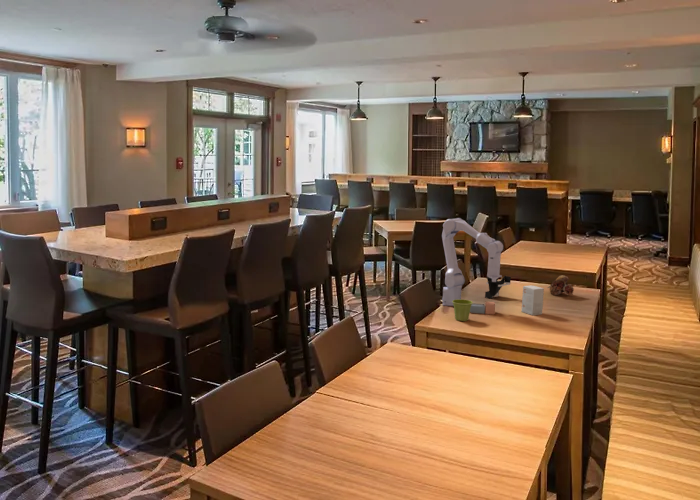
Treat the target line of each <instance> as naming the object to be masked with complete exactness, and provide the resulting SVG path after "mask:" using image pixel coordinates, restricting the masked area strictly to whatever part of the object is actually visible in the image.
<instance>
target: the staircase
mask: <svg viewBox="0 0 700 500" xmlns="http://www.w3.org/2000/svg"><path fill="white" fill-rule="evenodd" d="M511 278H512V277H511V276H507V275H504V276H502V277H501V279H500V280H497V282H500V283H499V285H498V287H497V290H496V294H495V296H493V295H490V291H489V290H487V291H485V292H484V293H485V294H484V298H485V299H493V298H495V297H499V296H500V290H501V289H502V287H504V286H509V285H511V280H512V279H511ZM486 285H489V284H488V281H486Z"/></svg>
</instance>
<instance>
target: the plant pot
mask: <svg viewBox="0 0 700 500" xmlns="http://www.w3.org/2000/svg"><path fill="white" fill-rule="evenodd" d="M452 302H453V305H454V306H453V311H454V319H455V320H456V321H459V322H460V321H461V322H467V321H469V319H470V314H471V313H470V308H471V306H472V304H473V301H472V300H470V299H462V298H461V299H457V300H453V301H452Z"/></svg>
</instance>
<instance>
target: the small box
mask: <svg viewBox="0 0 700 500" xmlns="http://www.w3.org/2000/svg"><path fill="white" fill-rule="evenodd" d="M544 292H545V288H544V287H540V286H537V285H523V286H522V298H521V299H522V301H521V312H522V313H524V314H528V315H531V316H539V315H543V307H544V294H545V293H544Z"/></svg>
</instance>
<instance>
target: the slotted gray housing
mask: <svg viewBox="0 0 700 500" xmlns="http://www.w3.org/2000/svg"><path fill="white" fill-rule="evenodd" d="M470 312H471V313H470V314H485V303H473V304H472V306H471V308H470Z"/></svg>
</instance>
